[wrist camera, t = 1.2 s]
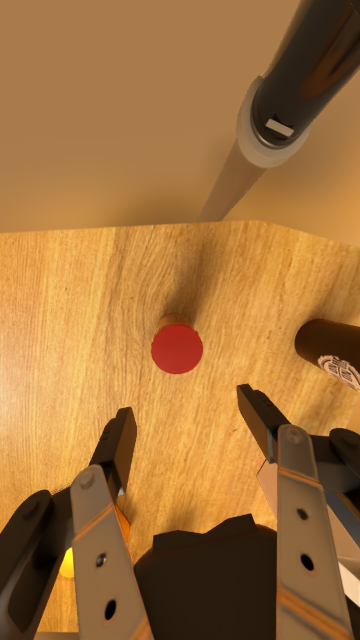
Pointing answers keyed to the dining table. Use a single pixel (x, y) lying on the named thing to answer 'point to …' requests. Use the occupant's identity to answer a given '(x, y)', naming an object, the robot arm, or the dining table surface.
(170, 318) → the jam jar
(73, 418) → the dining table surface
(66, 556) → the element tile
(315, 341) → the water bottle
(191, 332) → the jar lid
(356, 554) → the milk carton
